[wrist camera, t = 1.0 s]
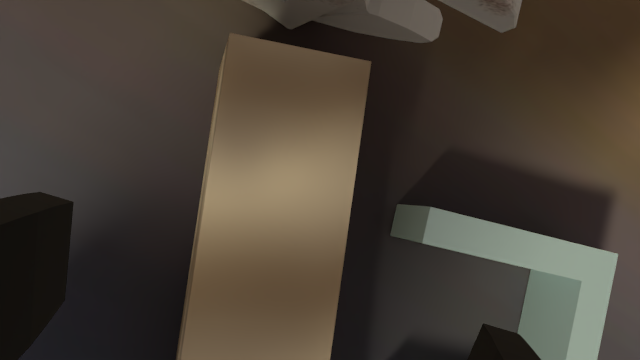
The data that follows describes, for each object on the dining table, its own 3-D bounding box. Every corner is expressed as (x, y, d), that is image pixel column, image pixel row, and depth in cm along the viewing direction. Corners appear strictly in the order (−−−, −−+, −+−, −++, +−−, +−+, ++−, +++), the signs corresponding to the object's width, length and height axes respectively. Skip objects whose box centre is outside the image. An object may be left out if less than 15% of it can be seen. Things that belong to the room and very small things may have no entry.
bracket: (519, 457, 22) (569, 497, 20) (345, 430, 21) (371, 469, 18) (563, 245, 23) (618, 254, 20) (397, 203, 21) (430, 206, 19)
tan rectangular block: (273, 476, 21) (301, 566, 16) (158, 473, 20) (149, 566, 15) (328, 90, 21) (371, 61, 16) (219, 69, 20) (230, 32, 15)
